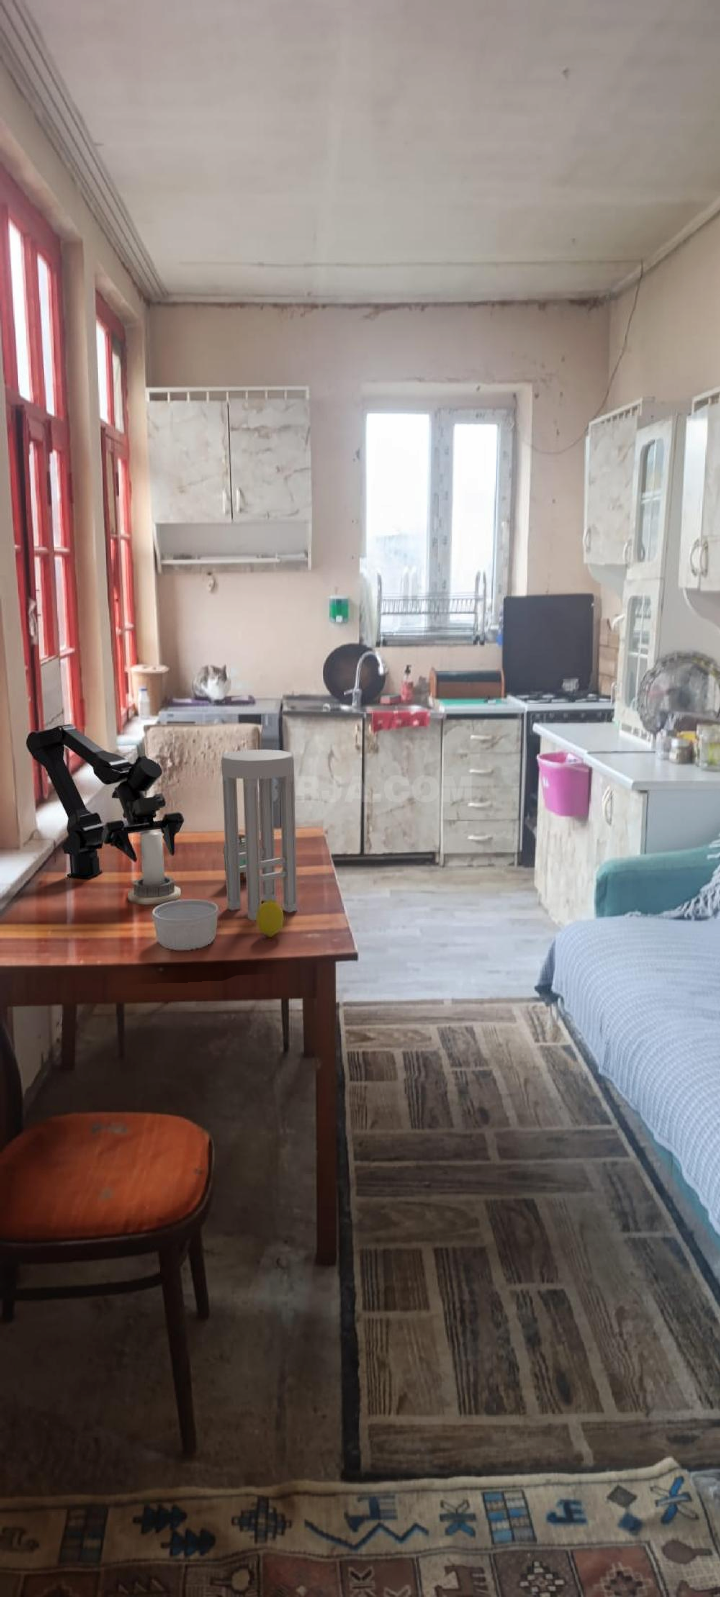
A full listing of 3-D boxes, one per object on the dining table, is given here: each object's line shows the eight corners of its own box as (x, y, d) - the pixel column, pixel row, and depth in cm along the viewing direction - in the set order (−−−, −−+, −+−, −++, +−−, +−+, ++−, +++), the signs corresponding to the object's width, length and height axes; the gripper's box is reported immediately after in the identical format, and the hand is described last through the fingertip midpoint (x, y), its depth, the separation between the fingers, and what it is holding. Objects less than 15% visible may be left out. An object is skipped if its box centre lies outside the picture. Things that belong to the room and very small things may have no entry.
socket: (117, 901, 228) (117, 885, 227) (147, 887, 239) (146, 872, 238) (162, 906, 224) (162, 891, 223) (190, 892, 235) (189, 877, 234)
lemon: (257, 933, 206) (256, 896, 204) (284, 932, 206) (283, 895, 205) (256, 942, 200) (255, 904, 199) (284, 941, 201) (283, 903, 199)
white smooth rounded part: (138, 893, 230) (134, 835, 227) (150, 887, 235) (147, 829, 232) (157, 896, 228) (154, 836, 225) (170, 889, 233) (167, 831, 230)
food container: (248, 887, 239) (247, 846, 237) (224, 885, 240) (222, 845, 238) (263, 873, 250) (262, 834, 248) (240, 872, 252) (239, 833, 250)
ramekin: (182, 958, 192) (180, 923, 191) (140, 943, 201) (138, 910, 199) (232, 940, 202) (231, 907, 201) (190, 926, 210) (189, 895, 209)
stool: (214, 907, 223) (208, 753, 216) (273, 894, 232) (269, 746, 225) (249, 925, 211) (244, 762, 204) (310, 911, 220) (307, 755, 213)
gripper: (102, 787, 224) (124, 844, 218) (179, 778, 235) (201, 832, 228) (92, 815, 232) (113, 871, 225) (166, 805, 243) (188, 858, 236)
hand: (154, 857), depth 228 cm, fingers open, 9 cm apart
